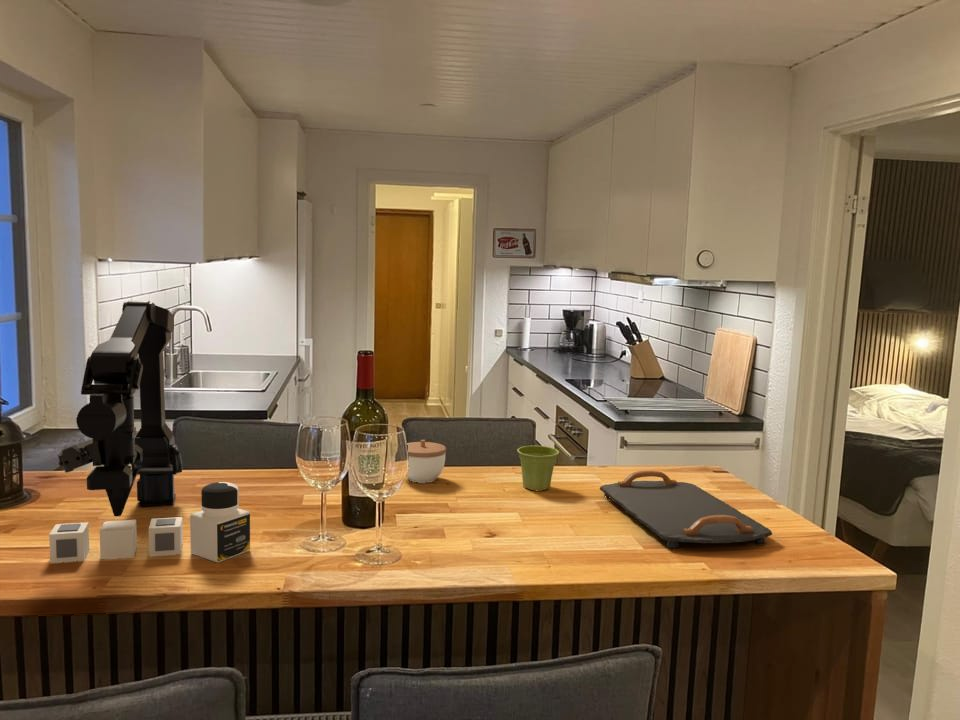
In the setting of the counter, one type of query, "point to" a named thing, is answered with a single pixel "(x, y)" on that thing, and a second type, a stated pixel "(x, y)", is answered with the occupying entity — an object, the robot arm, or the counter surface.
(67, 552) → the labelled cube
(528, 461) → the plant pot
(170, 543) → the labelled cube a
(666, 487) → the serving board
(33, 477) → the counter surface
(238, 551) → the medicine bottle
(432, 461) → the lidded jar
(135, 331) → the robot arm
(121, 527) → the plain cube
